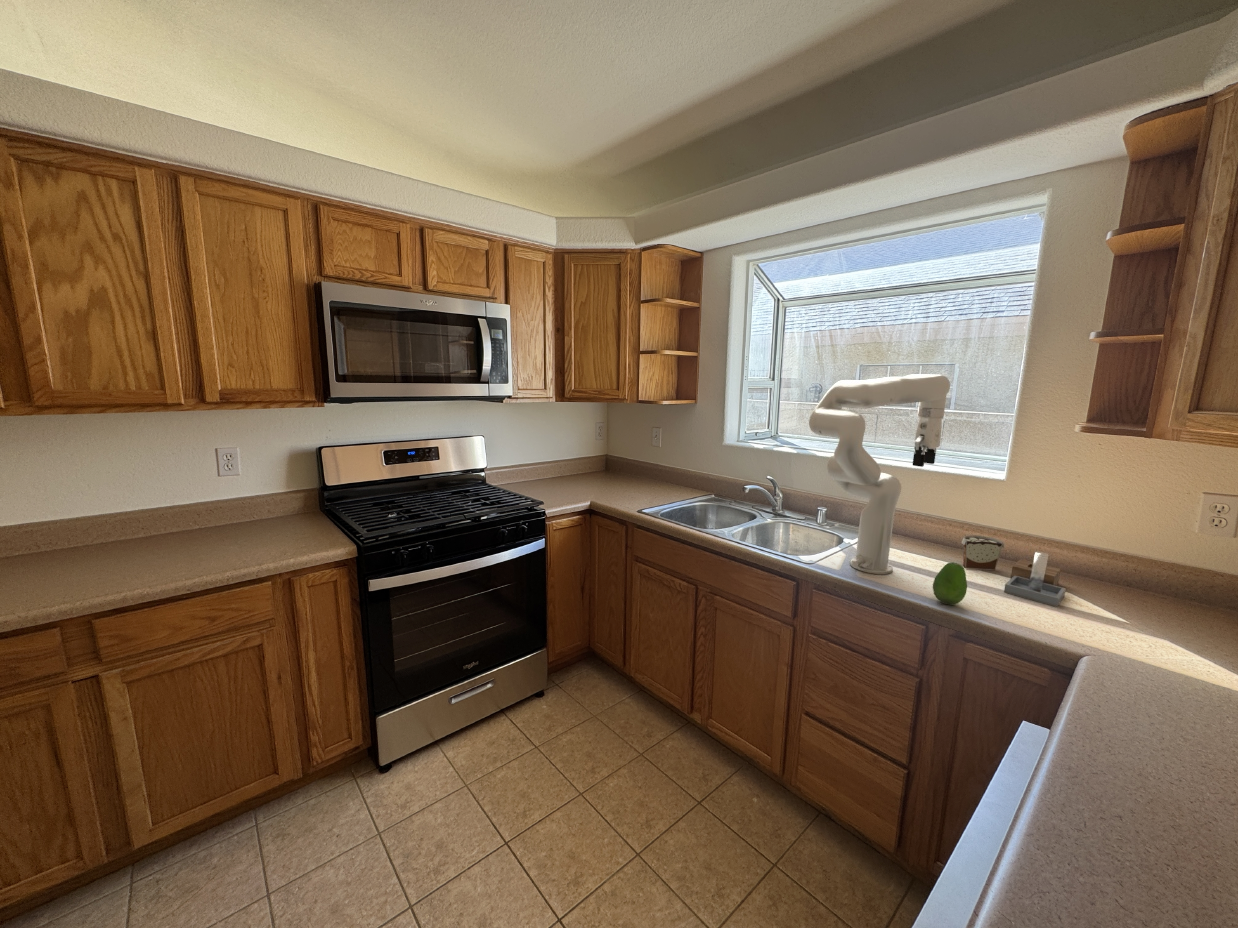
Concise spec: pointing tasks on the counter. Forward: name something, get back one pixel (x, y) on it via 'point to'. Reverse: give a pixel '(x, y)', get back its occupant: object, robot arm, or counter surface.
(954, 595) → the avocado
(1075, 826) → the counter surface
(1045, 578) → the pin block
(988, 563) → the food container
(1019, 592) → the tray
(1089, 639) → the counter surface
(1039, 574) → the pin
